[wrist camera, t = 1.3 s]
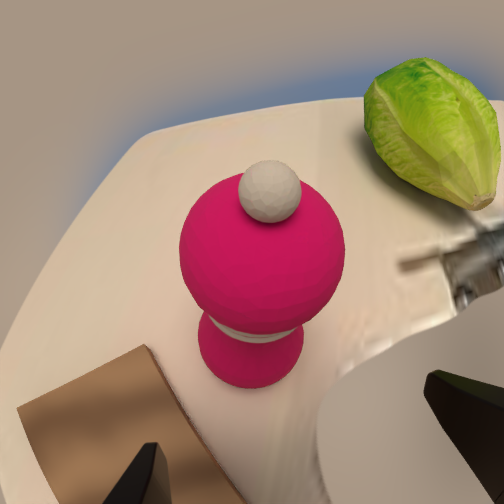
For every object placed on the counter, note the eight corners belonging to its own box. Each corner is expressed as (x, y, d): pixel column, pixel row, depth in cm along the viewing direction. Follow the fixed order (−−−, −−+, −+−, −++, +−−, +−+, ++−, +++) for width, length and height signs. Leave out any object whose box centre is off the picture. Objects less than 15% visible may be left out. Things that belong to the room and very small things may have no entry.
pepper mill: (310, 356, 25) (443, 197, 8) (241, 411, 23) (253, 374, 6) (254, 294, 28) (280, 78, 11) (187, 342, 25) (95, 159, 8)
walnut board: (292, 555, 16) (297, 566, 14) (154, 605, 12) (148, 617, 10) (151, 351, 25) (144, 343, 23) (31, 411, 21) (16, 407, 19)
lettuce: (396, 250, 34) (459, 170, 20) (336, 124, 42) (352, 34, 28) (490, 223, 34) (552, 158, 20) (426, 116, 42) (457, 43, 28)
